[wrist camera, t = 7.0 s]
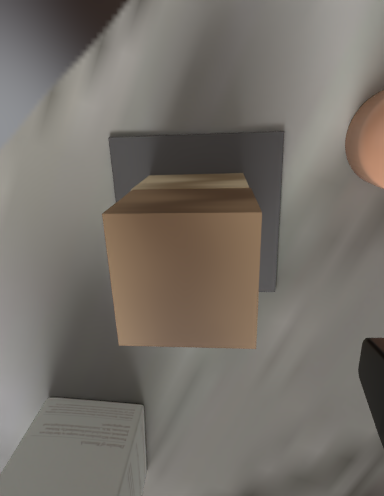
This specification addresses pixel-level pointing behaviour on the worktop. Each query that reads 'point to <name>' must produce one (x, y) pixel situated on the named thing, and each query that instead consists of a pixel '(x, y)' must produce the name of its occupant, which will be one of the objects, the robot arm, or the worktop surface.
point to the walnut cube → (185, 267)
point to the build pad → (211, 162)
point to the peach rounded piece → (367, 141)
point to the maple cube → (193, 181)
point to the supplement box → (80, 451)
